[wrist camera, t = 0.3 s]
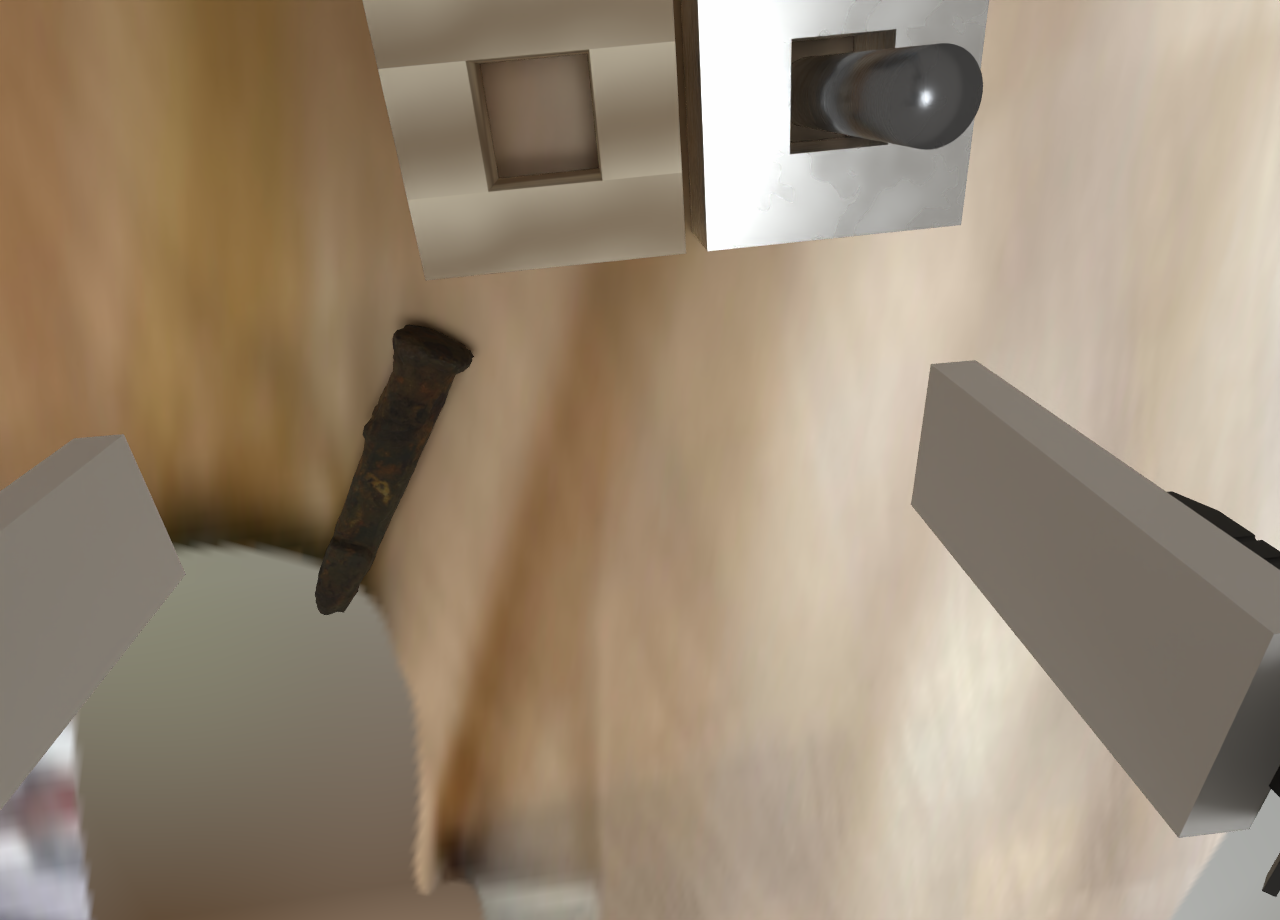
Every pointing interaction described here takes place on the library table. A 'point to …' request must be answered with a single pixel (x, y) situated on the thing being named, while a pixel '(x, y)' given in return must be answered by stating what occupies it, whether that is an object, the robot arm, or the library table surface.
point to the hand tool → (389, 457)
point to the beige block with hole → (463, 148)
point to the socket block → (821, 169)
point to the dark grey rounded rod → (889, 94)
